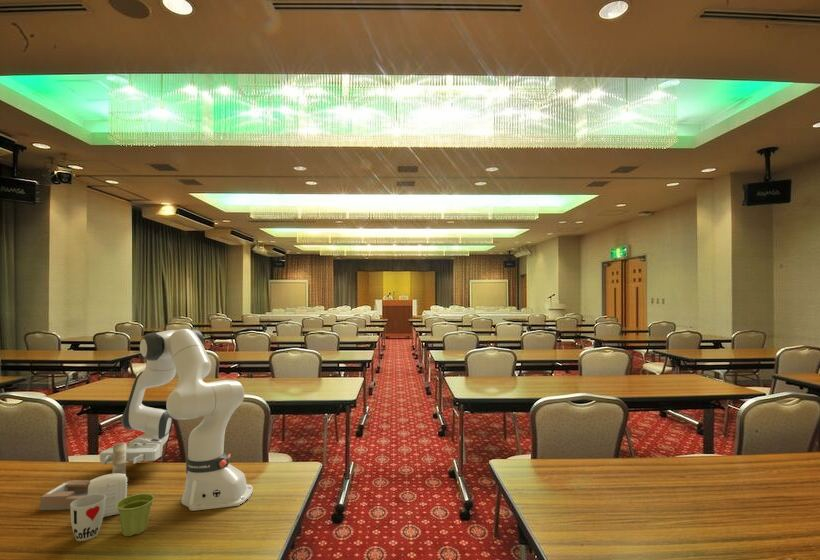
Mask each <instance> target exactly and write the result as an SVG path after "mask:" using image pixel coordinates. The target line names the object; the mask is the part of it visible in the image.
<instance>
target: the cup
mask: <svg viewBox="0 0 820 560" xmlns="http://www.w3.org/2000/svg"><path fill="white" fill-rule="evenodd" d="M105 499H106V496H105V495H103V494H93V495H88V496H84V497H81V498H78V499H76V500H74V501H73V502H72V503H71V504H70V509H69V510H70V522H71V523H70V524H71V527H72V533H73V536H74V537H75V540H76V541H77V542H84V541H88V540H91V539H94V538H95V537H97V536H98V534H99V531H100V528H101V527H102V524H103V520H104V519H103V518H104V517H103V515H104V508H105Z"/></svg>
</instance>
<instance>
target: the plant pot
mask: <svg viewBox="0 0 820 560" xmlns="http://www.w3.org/2000/svg"><path fill="white" fill-rule="evenodd" d="M154 500H155V496H154V495H153V494H152V493H144V492H143V493H137V494H133V495H130V496H127V497H126V498H124V499H122V500H120V501H119V502H118V503H117V504H116V507H117V508H118V511H119V513H120V514H119V520H120V528H121V530H120V531H121V534H122V536H125V537H131V536H134V535H139V534H142V533H143V532H145V531H146V530H147V527H148V521H149V515H150V511H151V507H152V504H153V501H154Z"/></svg>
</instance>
